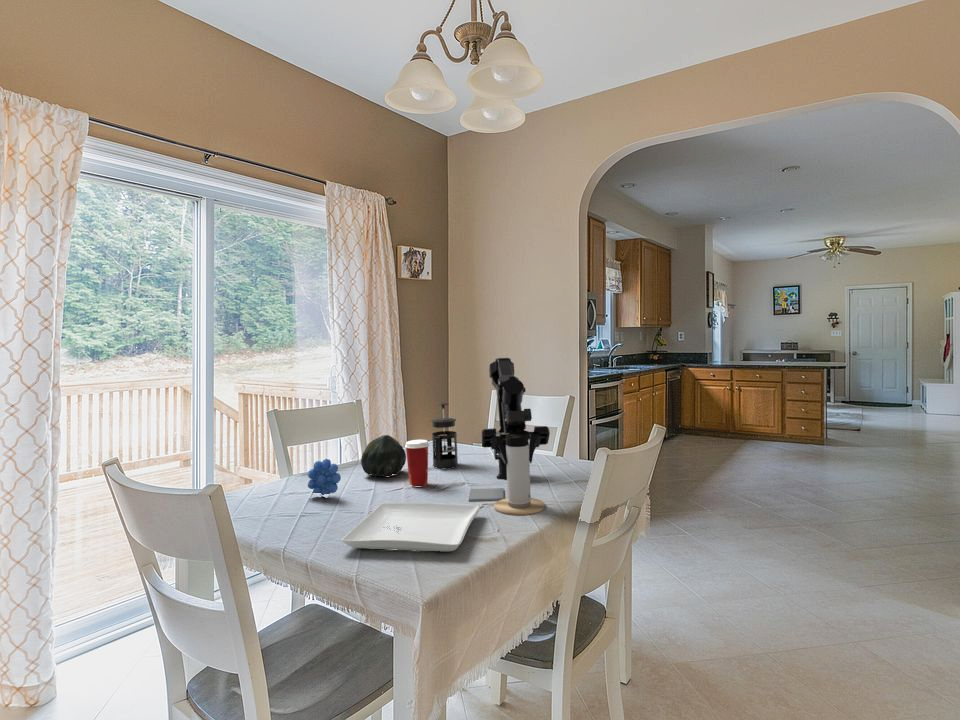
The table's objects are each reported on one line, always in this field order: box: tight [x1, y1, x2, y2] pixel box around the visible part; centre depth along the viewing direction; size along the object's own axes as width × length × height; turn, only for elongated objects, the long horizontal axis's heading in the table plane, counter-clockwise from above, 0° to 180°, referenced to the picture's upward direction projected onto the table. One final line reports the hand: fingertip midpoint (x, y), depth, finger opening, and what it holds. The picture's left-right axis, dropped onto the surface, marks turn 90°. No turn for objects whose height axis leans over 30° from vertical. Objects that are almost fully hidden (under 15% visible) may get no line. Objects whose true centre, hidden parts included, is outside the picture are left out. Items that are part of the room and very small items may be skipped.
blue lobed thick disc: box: [307, 458, 341, 495], centre depth 160 cm, size 12×7×12 cm, turn 69°
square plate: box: [340, 502, 481, 552], centre depth 128 cm, size 27×27×4 cm
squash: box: [360, 434, 407, 477], centre depth 184 cm, size 14×15×15 cm
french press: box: [431, 402, 459, 469], centre depth 193 cm, size 12×9×23 cm
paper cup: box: [404, 439, 430, 487], centre depth 170 cm, size 8×8×14 cm
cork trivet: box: [493, 497, 546, 516], centre depth 145 cm, size 14×14×1 cm
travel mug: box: [506, 430, 532, 508], centre depth 145 cm, size 6×7×20 cm
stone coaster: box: [468, 487, 505, 502], centre depth 156 cm, size 10×10×1 cm
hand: (518, 463), depth 144 cm, fingers open, 6 cm apart
